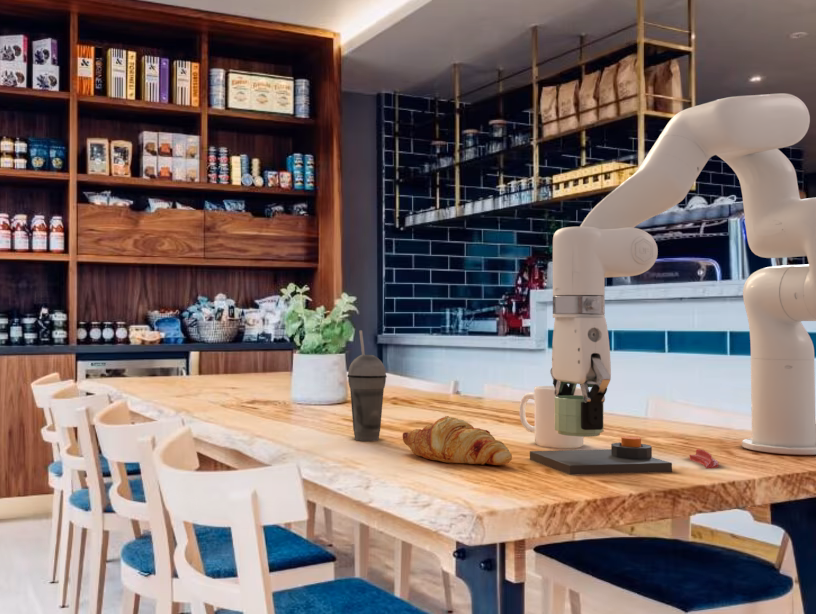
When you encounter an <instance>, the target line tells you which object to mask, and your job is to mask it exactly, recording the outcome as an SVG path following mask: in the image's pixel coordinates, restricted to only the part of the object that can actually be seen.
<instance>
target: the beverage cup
mask: <svg viewBox="0 0 816 614" xmlns="http://www.w3.org/2000/svg"><path fill="white" fill-rule="evenodd" d="M358 332H359V340H360V349H361V350H360V351H361V354H360V355H358V356H356V357H355V358H354V359H353V360H352V361H351V363H350V365H349V367H348V370H347V371H348V372H347V380H348V386H349V390H350V404H351V416H352V428H353V429H352V431H353V435H354V440H355V441H358V442H359V441H360V442H376V441H379V440H380V433H381V426H382V415H383V403H384V390H385V387H386V382H387V381H386V380H387V371H386V367H385V365H384V363H383V362H382V360H381V359H379V357H377V356H376V355H374V354H365V345H364V344H365V343H364V336H363V335H364V334H363V330H361V329H360V330H359V331H358Z"/></svg>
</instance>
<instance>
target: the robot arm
mask: <svg viewBox="0 0 816 614" xmlns="http://www.w3.org/2000/svg"><path fill="white" fill-rule="evenodd" d="M809 111H810V110H809V109H808V107H807V106H806V103H805V102H804V101H802V99H800V98H799V97H798V96H795V95H794V94H791V93H770V94H769V93H768V94H755V95H754V94H753V95H751V94H750V95H737V96H736V95H735V96H728V97H724V98H719V99H715V100H712V101H708V102H705V103H702V104H699V105H694V106H691V107H688V108H685V109H683V110H681V111H679V112H677V113H676V114H674V115H673V116H672V117H671V119H670V120H669V121H668V122H667V124H666V125H665V127H664V128H663V130H662V131H661V133H660V134H659V136H658V138H657V139H656V140H655V142H654V144H653V145H652V147H651V149H650V150H649V151H648V153H647V154H646V156H645V157H644V159H643V160H642V162H641V164H640V165H639V167H638V168H637V169H636V171H635V172H634V173H633V174H632V175H631V176H629V177H628V178H627V179H626V180H624V181H622V182H621V184H619V185H618V186H616V188H614V189H613V190H612V191H611V192H610V193H608V194H607V195H606V196H605V197H603V199H602V200H600V201H599V202H597V204H596V205H595V206H594V207H593V208H592V209H591V210H590V211H589V212H588V214H587V215H586V217H584V219H583V221H582V222H581V224H580V225H579V226H567V227H566V226H565V227H562V228H558V229H557V230H556V231H555V232H554V233H553V237H552V319H553V318H554V323H553V332H552V345H551V368H550V371H549V372H550V373H549V374H550V376H551V379H552V386H554V387H555V391H554V395H555V396H560V395H574V392H575V389H576V387H577V385H579V387H580V388H581V391H582V395H583V399H584V402H581V428H582V429H584V430H601V429H603V416H604V415H603V402H604V403H605V401H606V396H605V395H606V393H607V392H608V386H609V384H610V382H611V380H612V377H611V375H612V368H611V367H612V366H611V347H610V339H609V329H608V324H607V319H606V317H605V316H606V311H605V309H606V307H605V306H606V305H605V304H606V299H605V298H606V297H605V290H606V289H605V287H606V286H605V281H606V280H605V279H606V278H627V277H634V276H639V275H642V274H644V273H646V272H647V271H649V270H651V268H652V267H653V266H654V265H655V263H656V261H657V259H658V255H659V254H658V252H659V251H658V250H659V249H658V244H657V243H656V240H655V238H654V237H653V236H652V235H651V234H650V233H648V232H647V231H645V230H644V229H641V228H637V226H638V225H640V224H641V223H644V222H645V221H648V220H649V219H651V218H654V217H656V216H658V215H661V214H662V213H664V212H666V211H668V210H670V209H672V208H673V207H675V206H677V205H678V204H679V203H681V202H683V200H684V199H685V198H686V196H687V195H688V194H689V192H690V190H691V188H692V187H693V185H694V184H695V182H696V180H697V179H698V177H699V175H700V174H701V172H702V170H703V169H704V168H705V166H706V164H707V163H708V161H709V160H710V159H711V158H712V157H714V156H716V157H718V158H720V159H721V160H722V161H723V162H725V163H726V164H727V165H728V166H729V168H731V169H732V171H733V172H734V173H735V175H736V177H737V179H738V180H739V185H740V191H741V196H742V204H743V215H744V224H745V231H746V232H745V233H746V239H747V244H748V247H749V249H750V250H751V252H752V253H753V254H754V255H755V256H758V257H760V258H766V259H782V258H797V257H806V258H807V262H808V263H807V264H788V265H787V264H786V265H773V266H767V267H763V268H760V269H757V270H756V271H754V272H752V273H751V274H750V275H749V276H748V277H747V279H746V280H745V282H744V284H743V287H742V298H743V299H742V300H743V304H744V309H745V312H746V316H747V322H748V329H749V340H750V341H749V343H750V403H751V404H750V405H751V407H750V409H751V411H750V413H751V438H745V439H741V446H742V448H744V449H746V450H750V451H755V452H760V453H761V452H762V453H768V454H778V455H794V456H815V455H816V379H815V376H816V375H815V374H816V373H815V347H814V343H813V340H812V338H811V336H810V334H809V333H808V331H807V329H806V328H805V326H804V325H803V323H802V322H816V197H808V198H801V196H800V190H799V185H798V177H797V172H796V169H795V167H794V165H793V163H792V162H791V161H790V159H789V158H788V157H787V156H786V155H785V154H784V153H783V152H782V151H781V150H780V149H783V148H788V147H791V146H794V145H796V144H798V143H799V142H800V141H801V140H803V138H804V137H805V136H806V134H807V133H808V130H809V129H810V123H811V116H810V112H809ZM568 386H569V387H568ZM589 388H591V389H589Z"/></svg>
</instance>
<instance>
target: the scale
mask: <svg viewBox="0 0 816 614" xmlns="http://www.w3.org/2000/svg"><path fill="white" fill-rule="evenodd" d="M610 446H611V448H608V449H565V450H561V449H559V450H530V451H529V460H530V461H533V462H536V463H538V464H541V465H542V466H545V467H548V468H550V469H553V470H556V471H558V472H561V473H565V474H567V475H570V476H572V475H573V476H577V475H609V474H610V475H612V474H613V475H614V474H643V473H645V474H648V473H649V474H650V473H672V472H673V463H672V462H670V461H667V460H663V459H660V458H656V457H653V447H652V445H650V444H645V443H641V447H626V446H621V442H613V443H611V444H610Z"/></svg>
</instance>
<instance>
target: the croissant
mask: <svg viewBox="0 0 816 614" xmlns="http://www.w3.org/2000/svg"><path fill="white" fill-rule="evenodd" d="M402 441H403V443H404V444H405V445H406V446H407V447H408V448H409V449H410V450H411V453H413V454H414V455H416V456H417V457H423V458H425V459H427V460H430V461H438V462H442V463H445V464H469V465H481V466H482V465H483V466H484V465H485V464H488V465H492V466H501V465H506V464H508V463H509V462H511V461H512V460H513V454H512V453H511V451H510V450H509V448H508V447H507V446H506V445H505V443H504V442H502V441H501V440H498V439H496V438H495V437H494V436H493V434H491V432H490V431H489V430H488V429H483V428H480V427H474V425H472V424H470V423H469V422H468V421H466V420H464V419H460V418H458V417H453V416H449V415H445V416H443V417H441V418H439V419H437V420H435V422H434V423H429V424H426V425H425V426H424V427H423V428H422V429H421V428H415V429H413V430H411V431H410V432H407V431H406V432H403V433H402Z"/></svg>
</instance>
